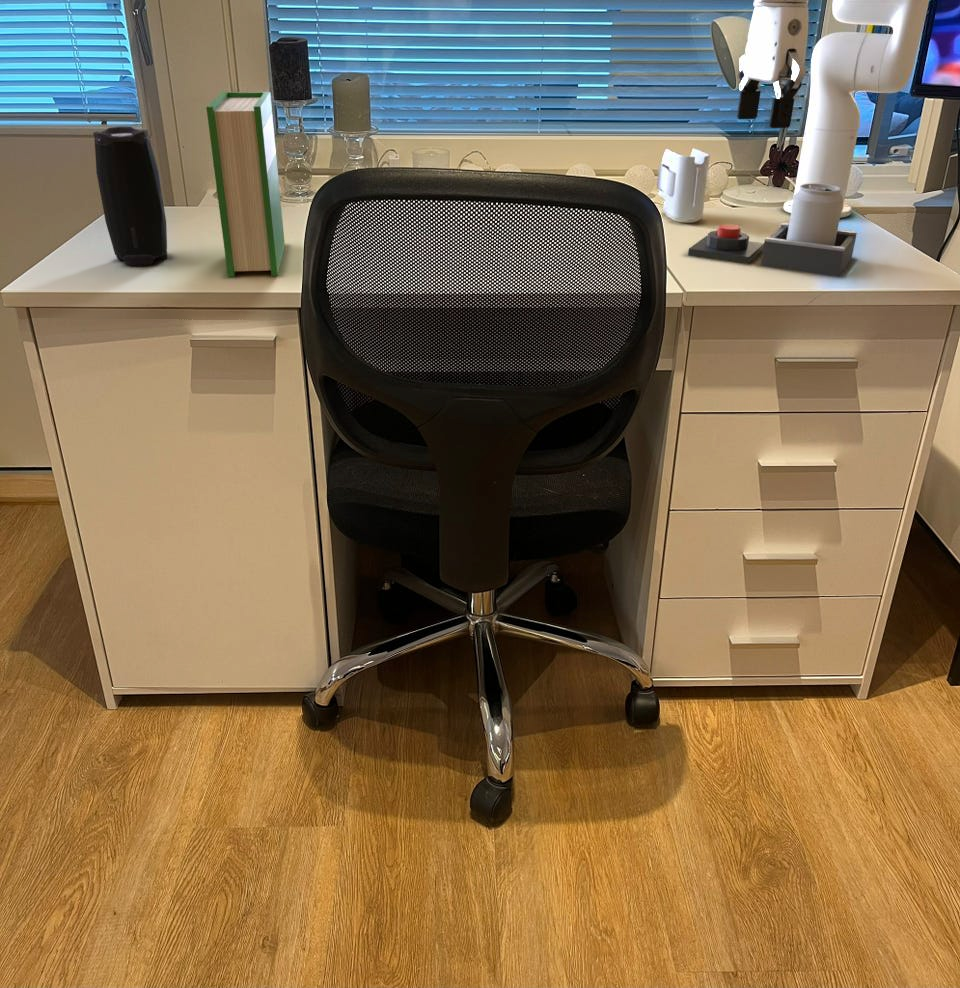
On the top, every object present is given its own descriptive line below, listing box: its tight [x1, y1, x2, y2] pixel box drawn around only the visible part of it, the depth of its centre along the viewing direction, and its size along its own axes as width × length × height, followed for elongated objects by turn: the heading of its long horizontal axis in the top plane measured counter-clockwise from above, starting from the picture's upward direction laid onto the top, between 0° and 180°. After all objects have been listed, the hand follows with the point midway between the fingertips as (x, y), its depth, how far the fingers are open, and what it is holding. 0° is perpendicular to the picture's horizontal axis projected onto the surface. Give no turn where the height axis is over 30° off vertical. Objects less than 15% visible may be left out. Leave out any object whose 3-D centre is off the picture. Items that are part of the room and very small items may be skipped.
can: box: [786, 183, 845, 246], centre depth 148 cm, size 8×8×12 cm
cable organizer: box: [656, 147, 711, 224], centre depth 174 cm, size 7×12×12 cm, turn 12°
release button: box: [717, 223, 742, 238], centre depth 154 cm, size 4×4×2 cm
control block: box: [687, 229, 764, 265], centre depth 155 cm, size 10×10×3 cm
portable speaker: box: [92, 125, 168, 267], centre depth 144 cm, size 9×9×20 cm
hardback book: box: [205, 91, 286, 278], centre depth 144 cm, size 18×7×24 cm, turn 7°
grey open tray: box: [760, 222, 858, 278], centre depth 150 cm, size 12×12×4 cm
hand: (762, 123), depth 141 cm, fingers open, 9 cm apart
